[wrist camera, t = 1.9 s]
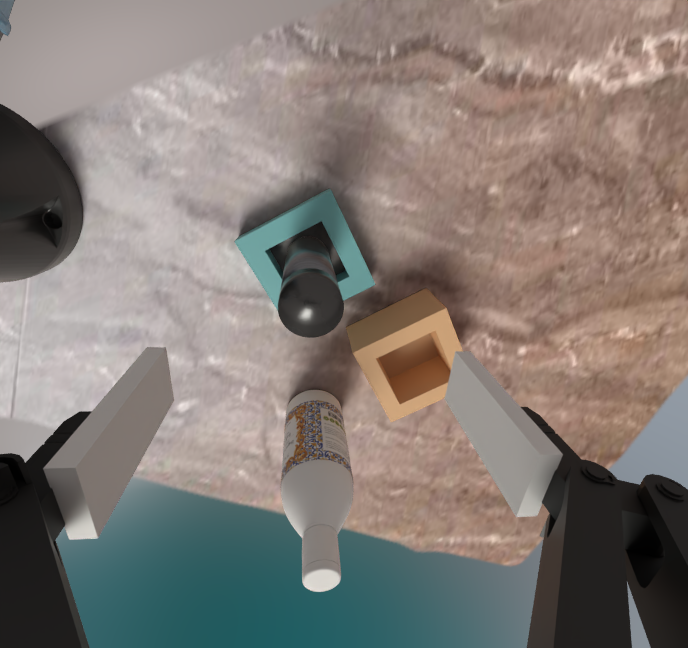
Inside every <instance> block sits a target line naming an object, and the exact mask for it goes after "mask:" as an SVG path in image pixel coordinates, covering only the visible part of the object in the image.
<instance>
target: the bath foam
mask: <svg viewBox="0 0 688 648" xmlns="http://www.w3.org/2000/svg"><path fill="white" fill-rule="evenodd" d="M281 497H282V503H283V507H284V510H285V513H286V515H287V517H288V519H289V521H290V523H291V524H292V525H293V527H294V528H295V530H296V531H297V532H298V534H299V535H300V536H301V537H302V581H303V584H304V586H305V587H306V588H307V589H309V590H311V591H316V592H322V591H327V590H330V589H332V588H334V587H335V586H336V585H338V583H339V582H340V579H341V569H340V558H339V548H338V539H337V534H338V533H339V531H340V529H341V527H342V526H343V524H344V522H345V520H346V518H347V516H348V514H349V511H350V508H351V505H352V500H353V477H352V471H351V465H350V458H349V452H348V446H347V440H346V434H345V427H344V421H343V416H342V410H341V406H340V403H339V402H338V400H337V399H336V398H335V397H334V396H333V395H332V394H330V393H328V392H325V391H322V390H308V391H304V392H302V393H300V394H298V395H296V396H295V397H294V398H293V399H292V400H291V401H290V403H289V404H288V407H287V410H286V419H285V432H284V447H283V462H282V478H281Z"/></svg>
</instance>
